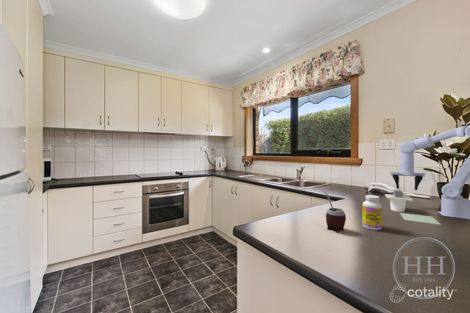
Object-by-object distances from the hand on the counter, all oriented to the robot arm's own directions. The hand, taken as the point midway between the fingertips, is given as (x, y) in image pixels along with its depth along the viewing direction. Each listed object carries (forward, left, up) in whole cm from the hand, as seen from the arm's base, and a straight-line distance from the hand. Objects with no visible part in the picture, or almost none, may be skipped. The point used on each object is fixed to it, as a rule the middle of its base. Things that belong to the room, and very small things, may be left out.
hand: (406, 189), depth 112 cm
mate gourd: (+31, +54, -11) cm, 63 cm away
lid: (+5, +9, -3) cm, 11 cm away
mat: (-1, +21, -10) cm, 23 cm away
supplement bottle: (+18, +44, -11) cm, 49 cm away
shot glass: (+5, +9, -11) cm, 15 cm away
